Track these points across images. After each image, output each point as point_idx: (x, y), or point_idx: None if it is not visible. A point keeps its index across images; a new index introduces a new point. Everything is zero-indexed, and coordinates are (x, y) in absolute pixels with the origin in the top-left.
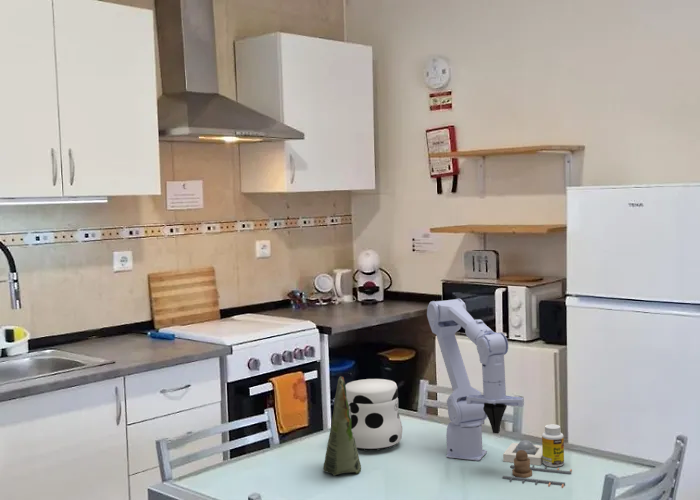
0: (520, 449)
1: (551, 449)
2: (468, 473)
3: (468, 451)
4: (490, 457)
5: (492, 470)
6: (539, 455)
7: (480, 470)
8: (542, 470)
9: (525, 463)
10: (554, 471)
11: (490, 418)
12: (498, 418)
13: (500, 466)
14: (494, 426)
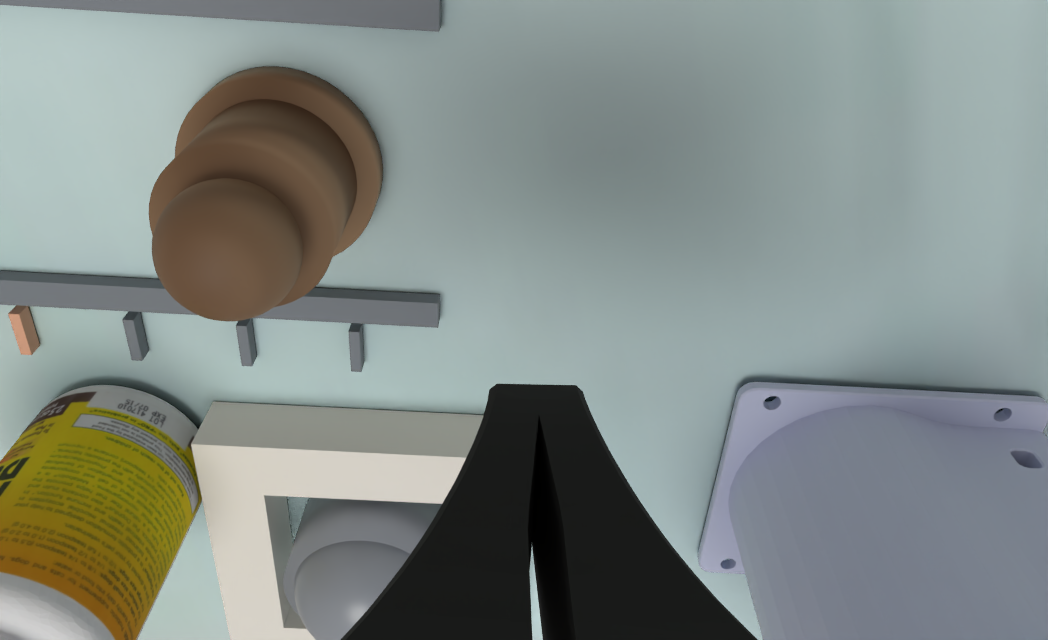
0: (393, 541)
1: (24, 487)
2: (822, 57)
3: (861, 444)
4: (656, 474)
5: (588, 199)
6: (221, 491)
7: (705, 171)
8: (138, 281)
9: (179, 154)
10: (26, 277)
11: (635, 567)
12: (432, 571)
13: (535, 310)
14: (546, 456)
